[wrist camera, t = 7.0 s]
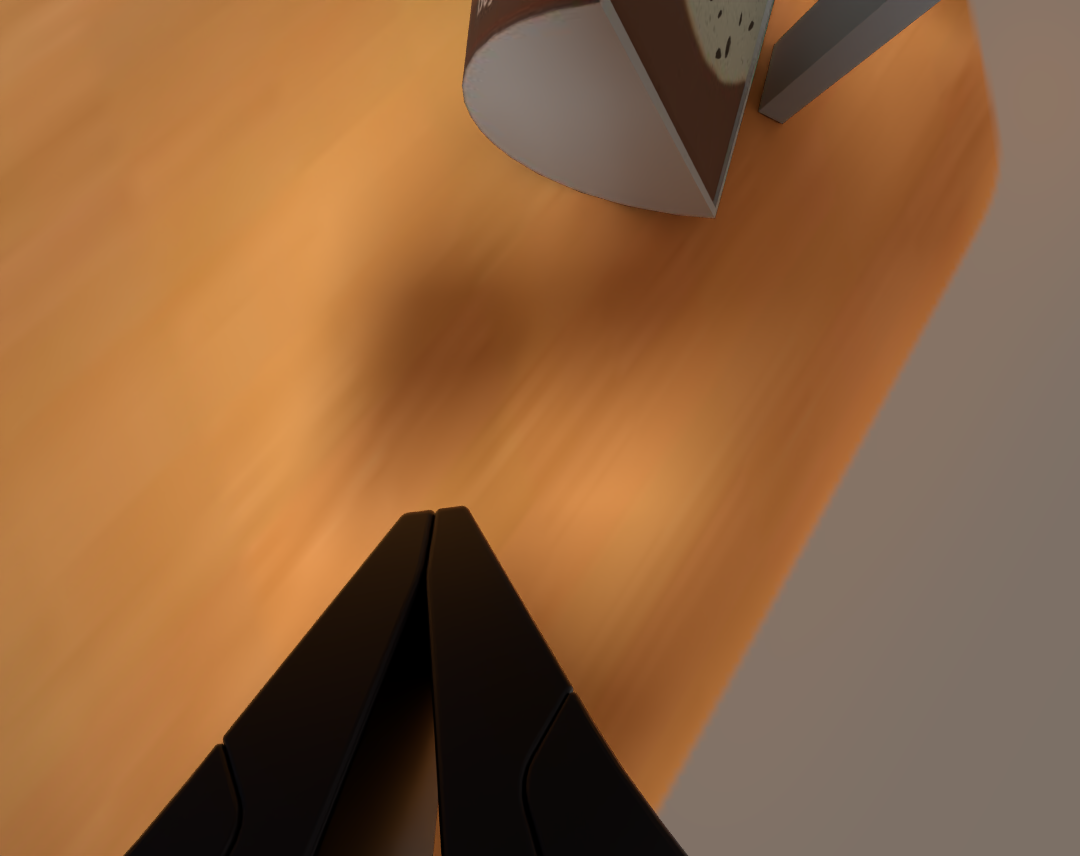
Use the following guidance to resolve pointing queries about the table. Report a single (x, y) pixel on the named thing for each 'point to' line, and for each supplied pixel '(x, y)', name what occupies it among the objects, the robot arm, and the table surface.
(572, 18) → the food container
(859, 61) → the overhang shelf
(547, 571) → the table surface
